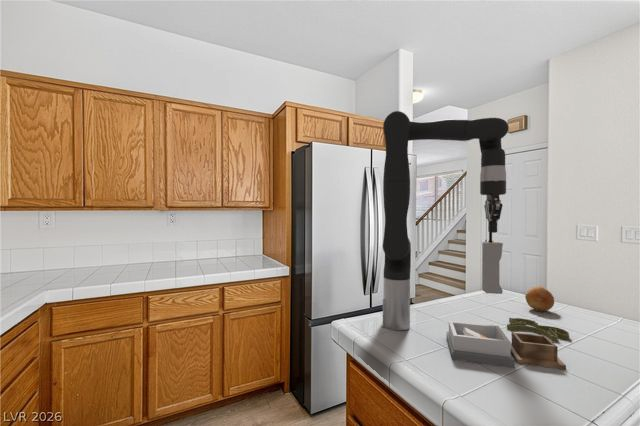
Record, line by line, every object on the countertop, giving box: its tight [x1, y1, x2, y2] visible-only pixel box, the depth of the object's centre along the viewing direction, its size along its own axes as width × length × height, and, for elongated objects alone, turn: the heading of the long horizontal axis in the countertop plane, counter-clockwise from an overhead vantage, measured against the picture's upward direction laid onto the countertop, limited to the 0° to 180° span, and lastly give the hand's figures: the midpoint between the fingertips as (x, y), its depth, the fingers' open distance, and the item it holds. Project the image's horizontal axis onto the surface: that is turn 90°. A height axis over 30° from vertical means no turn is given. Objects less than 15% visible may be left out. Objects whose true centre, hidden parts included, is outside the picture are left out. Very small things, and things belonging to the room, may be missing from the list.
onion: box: [524, 285, 555, 313], centre depth 125 cm, size 10×10×10 cm
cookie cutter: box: [506, 317, 570, 343], centre depth 103 cm, size 18×12×2 cm, turn 41°
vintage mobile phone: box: [481, 231, 504, 295], centre depth 101 cm, size 4×5×25 cm
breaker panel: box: [446, 320, 516, 368], centre depth 88 cm, size 15×15×6 cm
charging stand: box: [511, 331, 567, 370], centre depth 85 cm, size 11×11×5 cm
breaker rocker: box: [463, 327, 487, 338], centre depth 88 cm, size 7×4×2 cm, turn 73°
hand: (492, 232), depth 101 cm, fingers closed on vintage mobile phone, 1 cm apart
